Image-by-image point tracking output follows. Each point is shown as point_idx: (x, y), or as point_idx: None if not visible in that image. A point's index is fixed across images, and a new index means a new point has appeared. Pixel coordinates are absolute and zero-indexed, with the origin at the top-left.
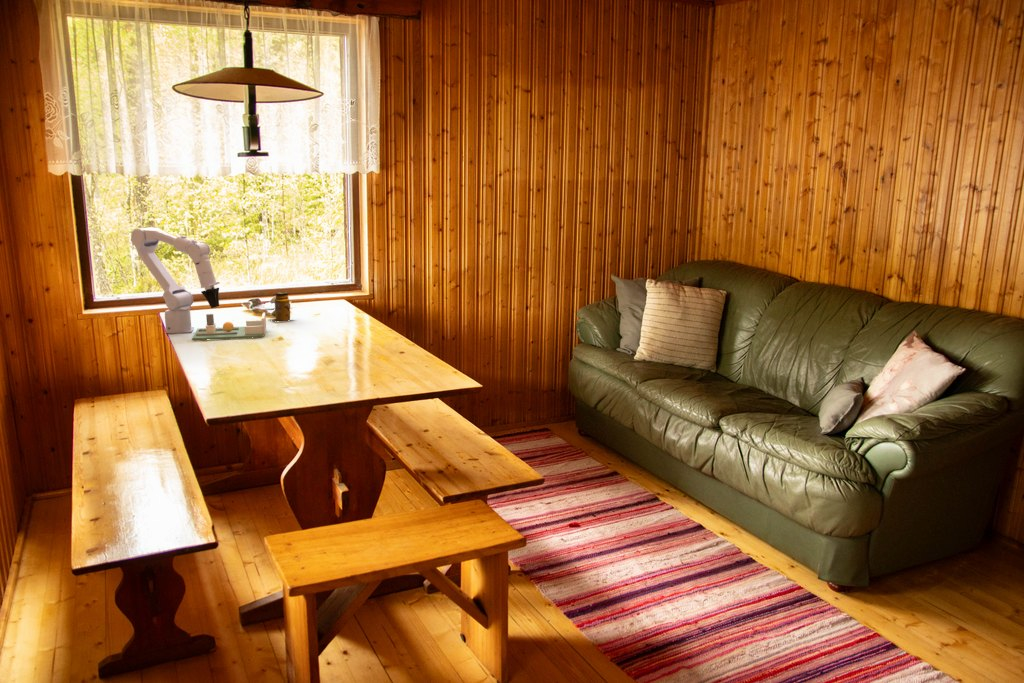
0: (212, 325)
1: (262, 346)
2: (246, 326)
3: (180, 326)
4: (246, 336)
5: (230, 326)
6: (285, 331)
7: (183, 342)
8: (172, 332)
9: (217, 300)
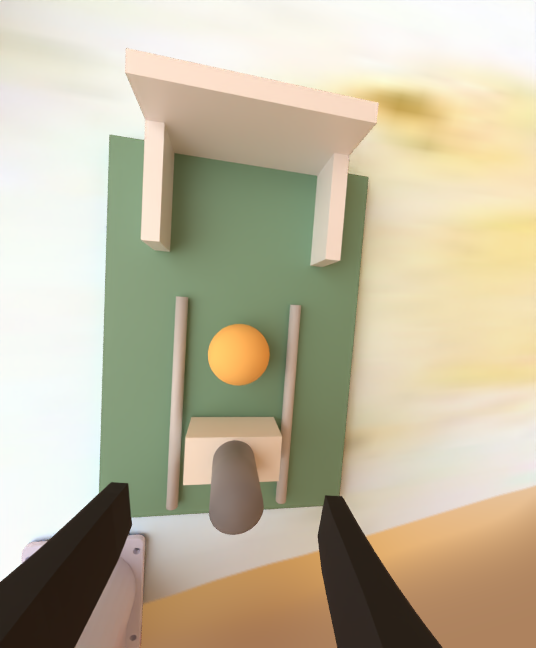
0: (263, 446)
1: (515, 206)
2: (334, 248)
3: (127, 619)
4: (358, 261)
5: (266, 341)
6: (241, 45)
7: None
8: (141, 622)
9: (81, 553)
